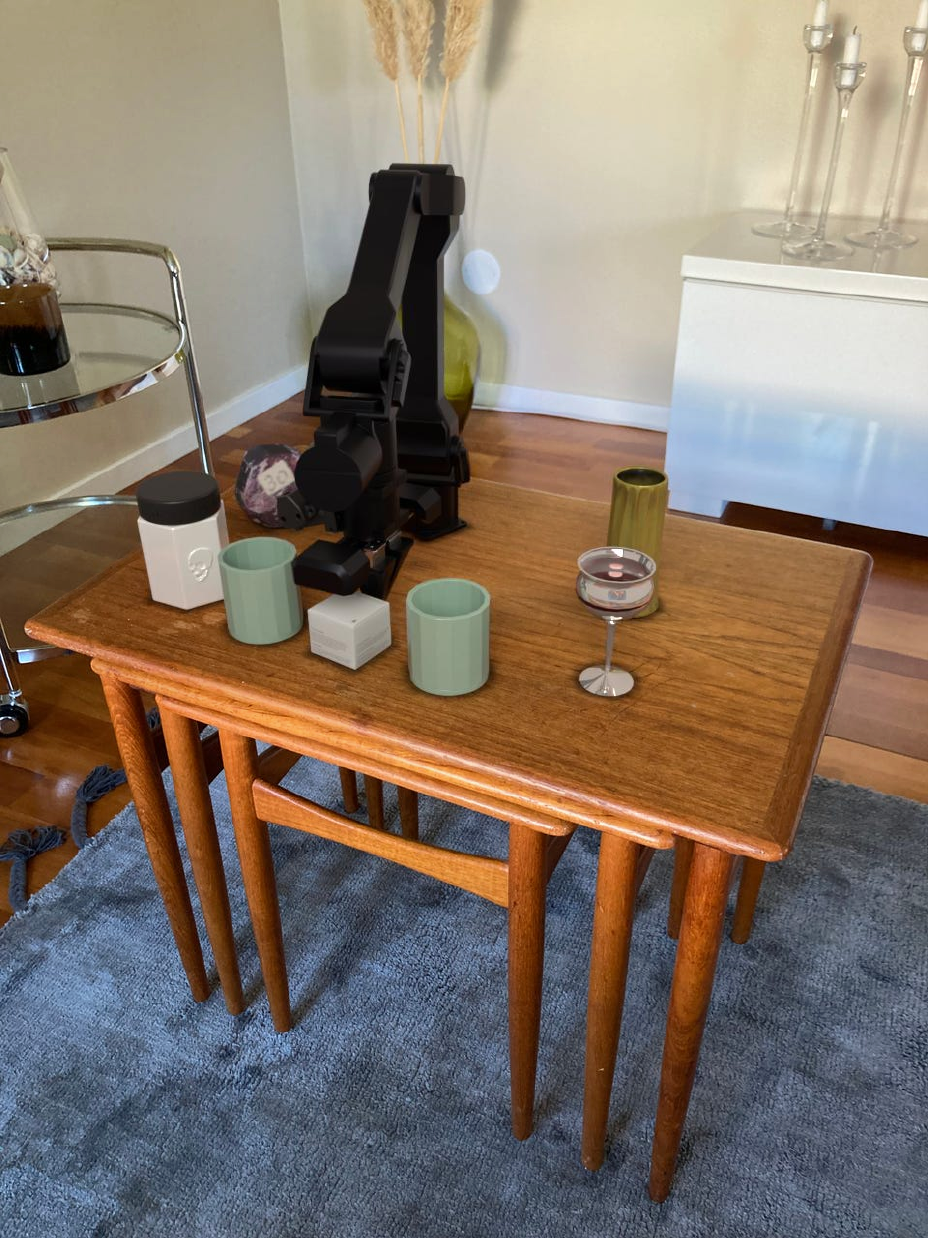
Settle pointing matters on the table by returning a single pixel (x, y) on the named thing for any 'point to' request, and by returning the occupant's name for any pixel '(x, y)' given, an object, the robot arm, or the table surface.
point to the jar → (182, 537)
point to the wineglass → (613, 605)
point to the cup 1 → (260, 590)
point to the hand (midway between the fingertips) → (375, 610)
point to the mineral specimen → (265, 481)
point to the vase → (639, 516)
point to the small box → (350, 628)
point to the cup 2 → (448, 636)
